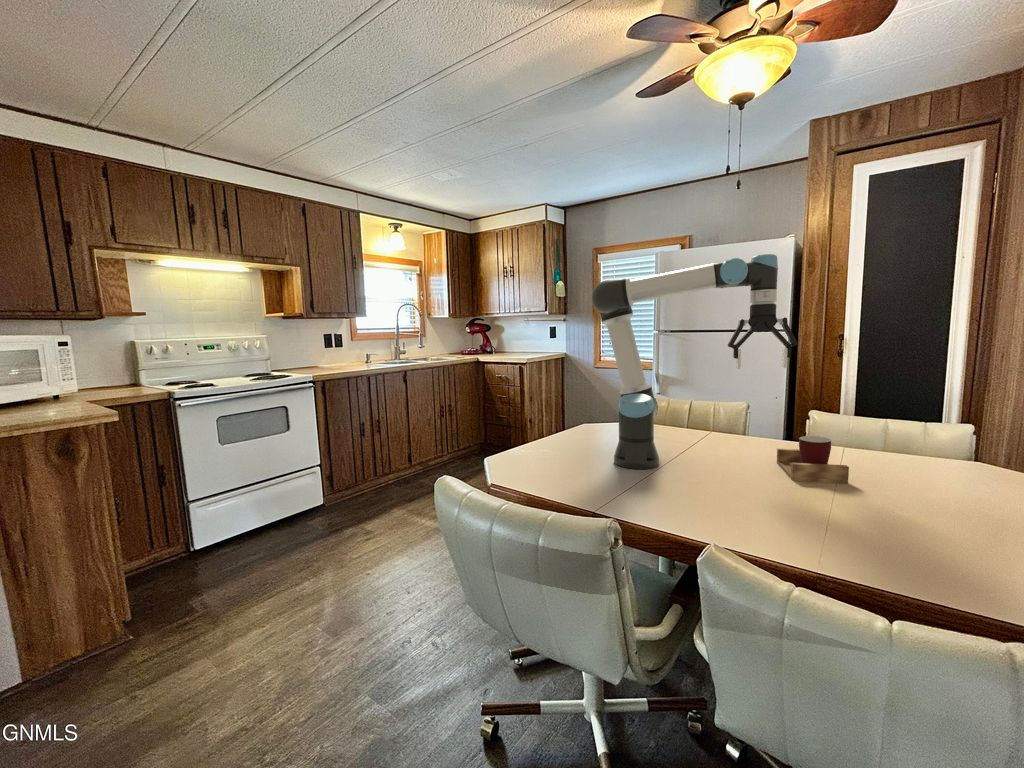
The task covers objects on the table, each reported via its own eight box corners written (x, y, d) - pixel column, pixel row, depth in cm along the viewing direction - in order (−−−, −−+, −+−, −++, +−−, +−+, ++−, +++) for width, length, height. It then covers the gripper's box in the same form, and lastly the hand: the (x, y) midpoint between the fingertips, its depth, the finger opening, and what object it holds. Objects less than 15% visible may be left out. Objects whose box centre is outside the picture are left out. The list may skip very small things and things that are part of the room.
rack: (792, 480, 130) (793, 464, 129) (776, 463, 146) (777, 448, 146) (848, 483, 126) (849, 466, 125) (825, 465, 142) (826, 450, 141)
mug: (793, 464, 142) (793, 433, 141) (822, 464, 139) (822, 434, 138) (803, 474, 132) (803, 442, 131) (834, 475, 129) (835, 442, 128)
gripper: (723, 305, 143) (721, 369, 146) (811, 300, 136) (808, 368, 139) (719, 306, 151) (718, 367, 153) (803, 301, 143) (800, 366, 146)
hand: (761, 368), depth 146 cm, fingers open, 13 cm apart
